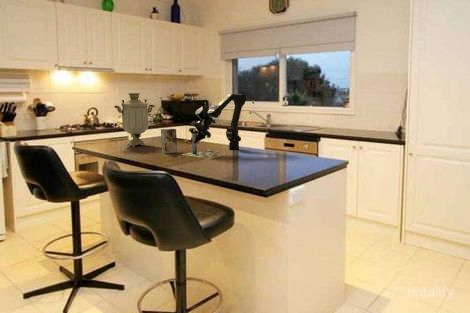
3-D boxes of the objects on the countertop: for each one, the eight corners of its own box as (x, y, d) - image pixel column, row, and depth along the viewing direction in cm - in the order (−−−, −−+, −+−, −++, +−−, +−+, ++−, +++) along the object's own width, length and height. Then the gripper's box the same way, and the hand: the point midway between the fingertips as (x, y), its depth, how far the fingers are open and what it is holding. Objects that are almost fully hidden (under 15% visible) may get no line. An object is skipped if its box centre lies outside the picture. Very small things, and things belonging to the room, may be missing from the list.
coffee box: (174, 151, 280) (173, 128, 277) (177, 152, 274) (176, 129, 271) (161, 152, 276) (160, 129, 273) (164, 153, 270) (163, 130, 267)
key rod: (198, 153, 262) (197, 133, 259) (195, 154, 259) (195, 134, 256) (193, 153, 263) (193, 133, 260) (191, 154, 260) (191, 134, 257)
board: (223, 157, 253) (223, 151, 253) (210, 160, 244) (210, 153, 243) (194, 153, 269) (193, 147, 269) (181, 155, 260) (180, 149, 260)
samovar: (155, 141, 327) (152, 92, 319) (157, 146, 302) (155, 93, 295) (117, 143, 319) (113, 93, 312) (117, 148, 294) (113, 93, 287)
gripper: (190, 115, 266) (176, 133, 261) (206, 117, 252) (192, 136, 247) (200, 126, 272) (187, 144, 267) (217, 128, 258) (203, 147, 253)
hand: (192, 142), depth 258 cm, fingers open, 4 cm apart
